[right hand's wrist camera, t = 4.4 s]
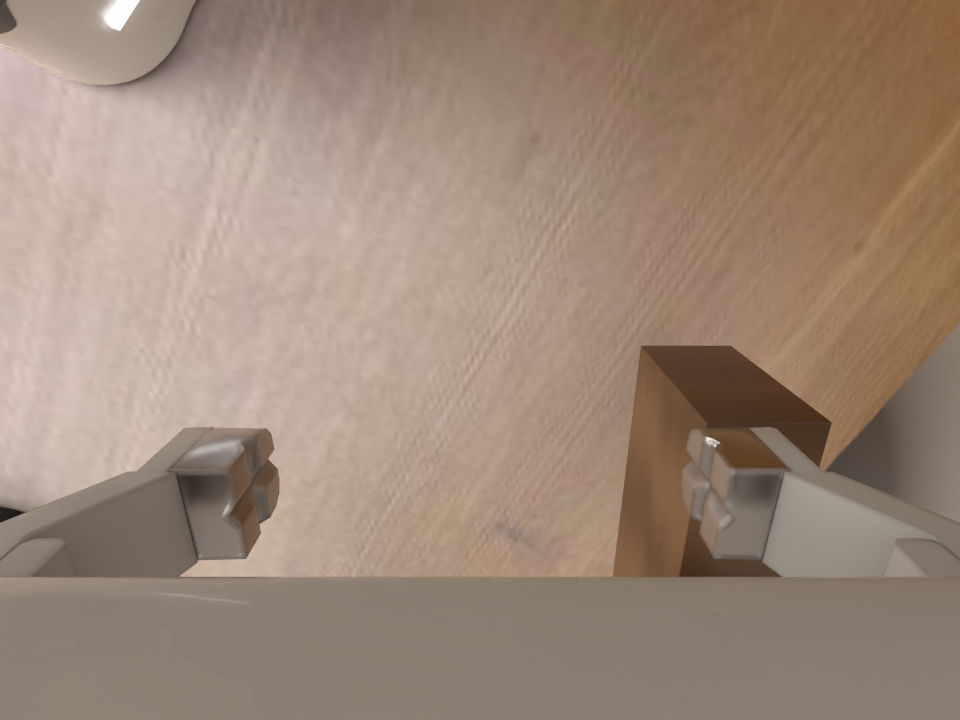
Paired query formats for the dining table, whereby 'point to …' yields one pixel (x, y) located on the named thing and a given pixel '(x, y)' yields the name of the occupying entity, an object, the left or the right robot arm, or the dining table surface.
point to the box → (662, 455)
